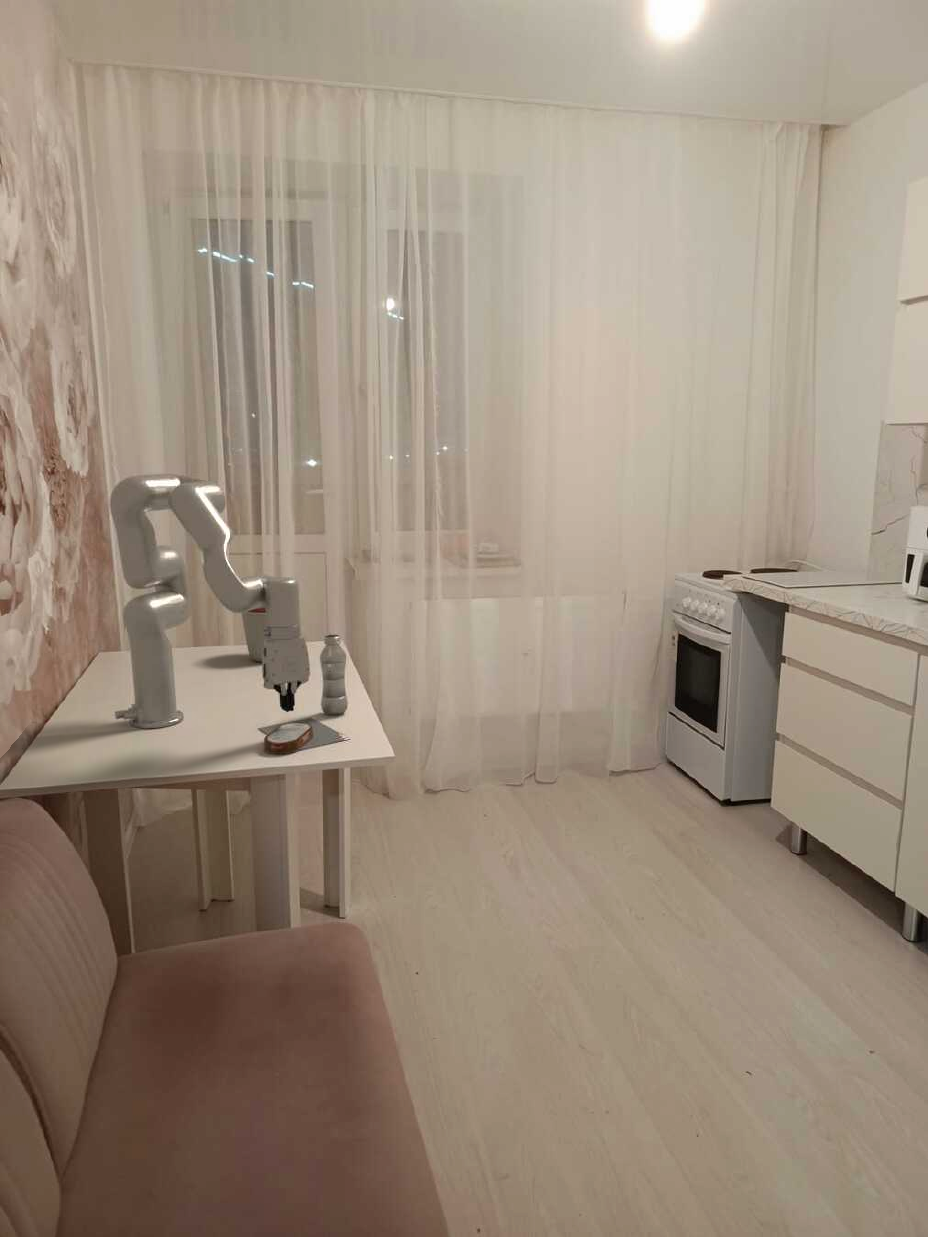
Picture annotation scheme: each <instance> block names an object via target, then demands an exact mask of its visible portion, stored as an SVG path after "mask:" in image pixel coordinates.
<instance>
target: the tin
mask: <svg viewBox="0 0 928 1237" xmlns="http://www.w3.org/2000/svg"><path fill="white" fill-rule="evenodd" d="M286 723H287V722H286ZM312 739H313V728H312V726H311V725H310V724H302V723H287V724H283V725H281V726H279V727H278V728H276V729H275V730H274V731H272V732H271V733H270V734H268V735H267V734H266V736H265V737H264V740H263V743H264V747H263V750H264V751H265V752H266V753H268V754H275V755H283V754H285V755H286V754H291V753H296V752H299V751H298V750H300V749H301V748H302V747H303V746H304V745H306V744H307V743H308V742H309V741H310V740H312ZM295 751H296V752H295Z"/></svg>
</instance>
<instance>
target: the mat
mask: <svg viewBox="0 0 928 1237" xmlns="http://www.w3.org/2000/svg"><path fill="white" fill-rule="evenodd" d="M287 723H302V724H310V725H311V726H312V728H313V739H312V740H310V741H309V742H308V743H307V744H306V745H304V746H303V747H302V748H301V749H300V750H298V751H295V752H294V753H296V752H300V751H304V749H305V750H308V748H310V749H313V748H312V747H314V748H318V747H317V746H319V747H321V746H320V745H323V746H327V745H331V744H336V742H337V743H340V742H339V741H341V742H344V741H343V740H344V739H345V738H342V736H340V735H339V734H342V735H344V734H343V733H341V732H339V731H337V730H335V729H333V728H331V727H330V726H328V725H326V724H324V723H322V722H320V721H318V720H317V719H315V718H314V717H306V718H302V719H298V720H297V719H296V720H292V721H288V722H283V723H277V724H272V725H268V726H262V727H258V728H257V730H259V731H261V732H262V733H264V734H265V735H266V736H267V735H268V734H270V733H271V732H272V731H274V730H275V729H276V728H278V727H279V726H281V725H283V724H287ZM347 737H348V736H346V738H347ZM341 738H342V739H341Z"/></svg>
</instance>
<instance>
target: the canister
mask: <svg viewBox="0 0 928 1237" xmlns="http://www.w3.org/2000/svg"><path fill="white" fill-rule="evenodd" d="M241 618H242V624H243V629H244V635H245V640H246V642H245V643H246V646H247V647H246V648H247V651H248V654H249V657H250V658H251V659H252V660H254V661H256V662H261V663H262V658H263V647H264V641H265V639H267V637H266V636H262V634H261V631H262V630H265V629H266V626H267V624H266V606H264V607H261V608H257V609H253V610H250V611H247V612H243V613H241Z"/></svg>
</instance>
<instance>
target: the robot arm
mask: <svg viewBox="0 0 928 1237" xmlns="http://www.w3.org/2000/svg"><path fill="white" fill-rule="evenodd" d="M109 498H110V499H109V510H110V513H111V519H112V521H113V524H114V528H115V532H116V538H117V544H118V551H119V557H120V558H119V559H120V562H121V570H122V574H123V579H124V581H125V583H126V584H127V586H128V587H130V588H132V589H135V590H143V589H144V590H145V589H151V588H154V591H153V592H149V593H144V594H141V595H138V596H135V597H133V598H132V599H130V600H129V601H128V602H127V604H126V605H125V606H124V609H123V612H122V613H123V614H122V616H123V624H124V628H125V630H126V633H127V637H128V642H129V643H128V644H129V651H130V660H131V661H130V662H131V670H132V671H131V672H132V682H133V683H132V684H133V694H134V703H132V704H131V707H127V709H122V710H117V711H116V710H115V711H114V716H115V720H119V719H120V720H121V719H123V720H125V721H126V720H129V724H130V725H131V726H132V727H135V728H139V729H158V728H164V727H170V726H173V725H176V724H179V723H180V722H182V721H183V720H184V716H185V715H184V712H183V711H181V710H178V709H177V699H176V698H177V696H176V684H175V672H174V671H175V668H174V656H173V649H172V648H173V647H172V645H171V641H170V640H169V638H168V636H167V635H166V632H165V631H166V630H168V629H173V628H176V627H178V626H181V625H182V624H183V625H184V623H185V622H186V621H187V620H188V619H189V618H190V614H191V608H192V604H191V597H190V591H189V590H190V589H189V584H188V583H189V582H188V577H187V570H186V565H185V561H184V559H183V557H182V556H181V554H180V552H178V550H176V549H175V548H174V547H172V546H169V545H158V544H157V540H156V533H155V529H154V526H153V524H152V522H151V520H150V519H149V518H148V516H147V515H146V513H148V512H156V511H157V512H158V511H165V510H166V511H167V510H171V512H173V514H174V515H175V517H176V518H177V520H178V521H179V522H180V524H181V526H182V527H183V528H184V530H185V531H186V532H187V534H188V535H189V537H190V538H191V539H192V541H193V542H194V544H195V545H196V547H197V548H198V550H199V551H200V552H201V565H202V566H201V567H202V571H203V576H204V579H205V582H206V584H207V585H208V587H209V589H210V590H211V591H212V593H213V595H214V596H215V597H216V598H217V601H219V602H220V604H221V605H222V606H223V607H224V608H225V609H226V610H228V611H230V612H232V613H236V614H242V613H243V612H247V611H250V610H253V609H257V608H261V607H264V606H266V624H267V626H266V629H265V630H262V631H261V634H262V636H266V637H267V639H265V641H264V647H263V658H262V662H261V663H262V666H261V668H262V670H261V671H262V678H263V685H262V686H263V688H264V689H266V690H274V691H276V693H278V696H279V706H280V708H281V710H282V711H284V712H287V713H288V712H293V711H294V710H295V708H294V706H295V705H296V701H295V695H296V693H297V690H298V689H299V687H301V685H303V684H305V683H307V682H309V678H310V677H311V676H310V675H311V664H310V658H309V657H310V656H309V651H308V646H307V642H306V638H305V636H303V635H302V633H301V632H302V630H301V611H300V590H299V589H300V588H299V581H297V579H296V578H293V577H285V576H284V577H282V576H281V577H274V576H271V575H266V574H252V575H249V576H244V577H241V578H239V576H238V575H237V574H236V572H235V571H234V570H233V568H232V566H231V565H230V563H229V561H228V557H227V548H228V546H229V545H230V544H231V543H232V541H233V539H234V536H235V535H234V531H233V530H232V528H231V527H230V526H229V524H228V523H227V521H226V520H225V519H224V517H223V515H222V513H223V512H224V511H225V508H226V505H227V504H226V503H227V498H226V495H225V493H224V491H223V490H222V488H221V487H220V486H219V485H217V484H216V483H214V482H212V481H209V480H204V479H200V478H194V477H190V476H185V475H180V474H176V473H175V474H174V473H157V474H155V473H153V474H152V473H151V474H139V475H132V476H129V477H125V478H124V479H122V480H120V481H119V482H118V483H117V484H116V485H115V487H113V489H112V491H111V494H110V497H109Z"/></svg>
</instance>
